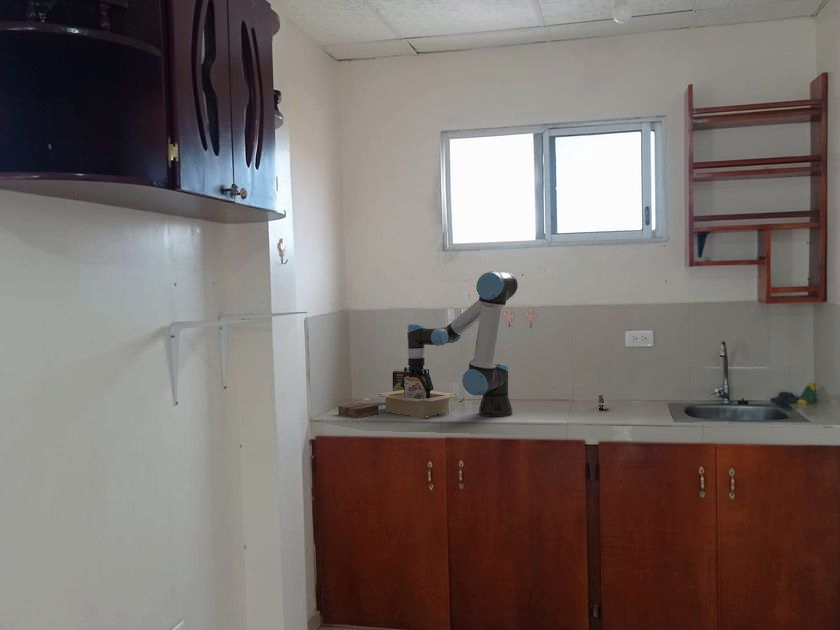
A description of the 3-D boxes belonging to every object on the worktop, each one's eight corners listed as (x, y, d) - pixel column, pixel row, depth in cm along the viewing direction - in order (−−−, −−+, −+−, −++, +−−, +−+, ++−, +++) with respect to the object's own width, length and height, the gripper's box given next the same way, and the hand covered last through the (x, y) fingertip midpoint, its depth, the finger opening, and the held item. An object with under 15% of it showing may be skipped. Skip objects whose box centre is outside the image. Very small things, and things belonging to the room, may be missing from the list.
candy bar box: (404, 412, 349) (403, 377, 348) (407, 410, 353) (407, 376, 353) (426, 413, 345) (426, 377, 344) (430, 411, 350) (429, 376, 349)
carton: (464, 412, 347) (463, 394, 347) (425, 420, 328) (424, 402, 328) (411, 404, 371) (411, 388, 370) (372, 412, 352) (372, 394, 352)
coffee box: (392, 404, 373) (391, 372, 373) (393, 402, 380) (393, 370, 379) (410, 404, 372) (410, 372, 372) (412, 402, 379) (411, 370, 378)
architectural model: (607, 409, 350) (606, 393, 350) (605, 412, 344) (605, 395, 343) (599, 409, 351) (599, 393, 351) (598, 411, 345) (597, 395, 344)
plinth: (378, 414, 346) (378, 405, 346) (357, 418, 337) (357, 409, 337) (359, 411, 355) (359, 402, 355) (338, 414, 346) (338, 406, 346)
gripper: (441, 358, 342) (441, 405, 343) (403, 355, 359) (404, 400, 360) (429, 359, 337) (430, 407, 338) (392, 356, 354) (393, 402, 355)
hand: (417, 404), depth 349 cm, fingers closed on candy bar box, 12 cm apart
